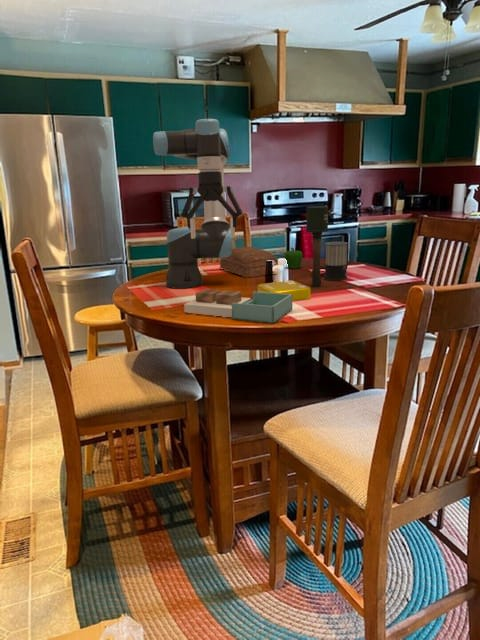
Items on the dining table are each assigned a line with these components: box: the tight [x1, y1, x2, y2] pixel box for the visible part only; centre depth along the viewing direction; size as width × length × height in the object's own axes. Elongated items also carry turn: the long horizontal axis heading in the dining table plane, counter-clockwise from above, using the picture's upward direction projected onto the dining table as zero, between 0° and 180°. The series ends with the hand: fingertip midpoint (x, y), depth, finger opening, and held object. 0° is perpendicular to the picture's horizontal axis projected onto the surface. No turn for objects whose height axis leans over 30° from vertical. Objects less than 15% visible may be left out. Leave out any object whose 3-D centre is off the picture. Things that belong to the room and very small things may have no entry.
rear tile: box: [195, 288, 222, 303], centre depth 155 cm, size 6×6×3 cm
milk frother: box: [310, 241, 349, 282], centre depth 197 cm, size 14×16×15 cm
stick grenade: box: [305, 205, 330, 288], centre depth 180 cm, size 8×9×30 cm
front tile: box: [216, 289, 242, 305], centre depth 151 cm, size 6×6×3 cm
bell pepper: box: [284, 247, 303, 270], centre depth 222 cm, size 8×8×10 cm
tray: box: [231, 291, 293, 324], centre depth 147 cm, size 14×16×5 cm
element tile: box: [257, 280, 312, 302], centre depth 169 cm, size 15×15×5 cm
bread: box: [219, 246, 277, 279], centre depth 218 cm, size 17×29×11 cm, turn 26°
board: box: [183, 296, 252, 318], centre depth 154 cm, size 17×14×3 cm
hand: (213, 238), depth 158 cm, fingers open, 13 cm apart
